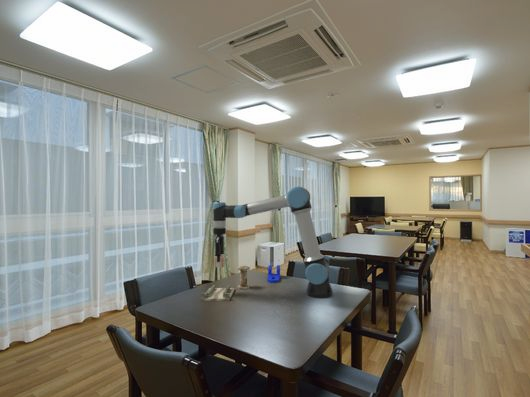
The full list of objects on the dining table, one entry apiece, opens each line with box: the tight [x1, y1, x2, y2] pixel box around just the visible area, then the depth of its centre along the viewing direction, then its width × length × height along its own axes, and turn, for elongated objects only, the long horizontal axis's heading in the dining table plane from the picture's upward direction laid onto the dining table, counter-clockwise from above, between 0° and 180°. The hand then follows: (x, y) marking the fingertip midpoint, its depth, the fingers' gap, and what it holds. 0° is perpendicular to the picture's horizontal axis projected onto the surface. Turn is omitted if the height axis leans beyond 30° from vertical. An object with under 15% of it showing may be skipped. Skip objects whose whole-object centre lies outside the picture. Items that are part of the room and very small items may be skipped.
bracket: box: [266, 264, 281, 284], centre depth 203 cm, size 18×8×9 cm, turn 174°
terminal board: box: [200, 284, 236, 302], centre depth 170 cm, size 16×20×4 cm
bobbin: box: [236, 265, 251, 290], centre depth 184 cm, size 8×8×13 cm
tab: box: [213, 255, 225, 269], centre depth 172 cm, size 5×5×7 cm
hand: (219, 265), depth 172 cm, fingers closed on tab, 5 cm apart
